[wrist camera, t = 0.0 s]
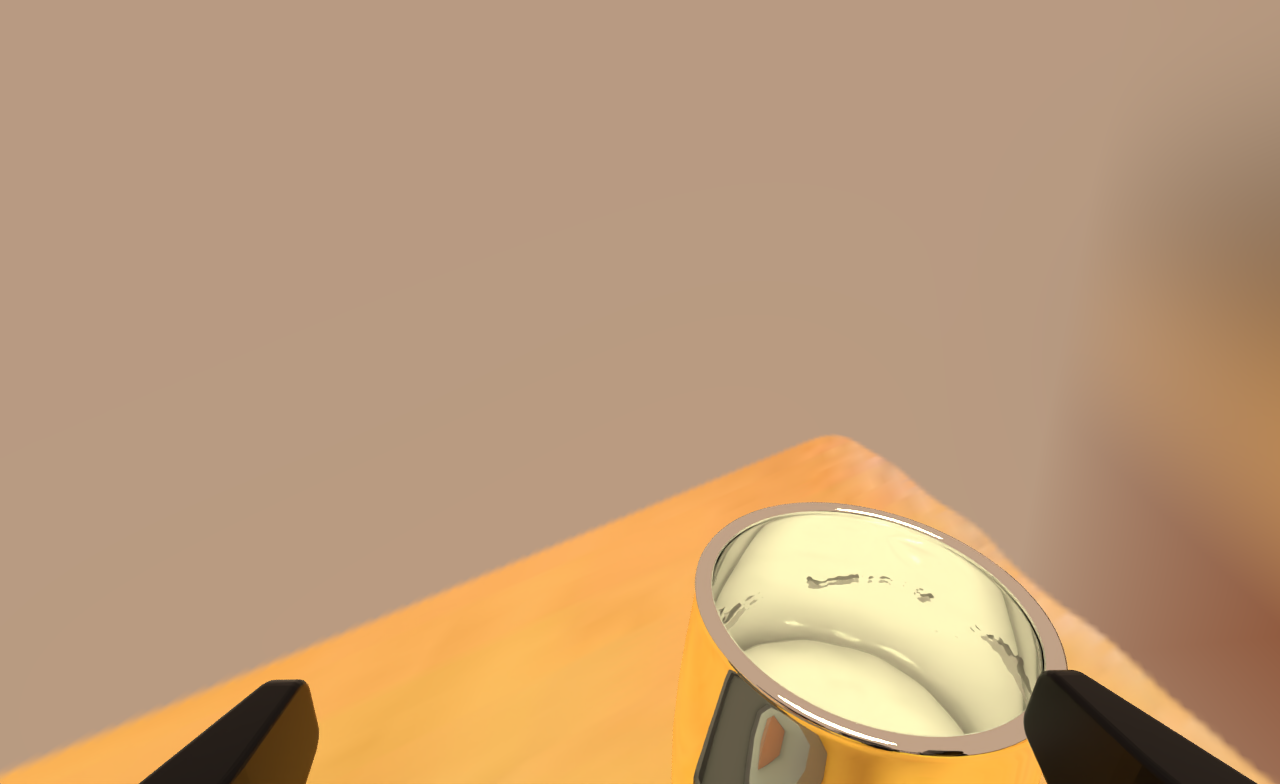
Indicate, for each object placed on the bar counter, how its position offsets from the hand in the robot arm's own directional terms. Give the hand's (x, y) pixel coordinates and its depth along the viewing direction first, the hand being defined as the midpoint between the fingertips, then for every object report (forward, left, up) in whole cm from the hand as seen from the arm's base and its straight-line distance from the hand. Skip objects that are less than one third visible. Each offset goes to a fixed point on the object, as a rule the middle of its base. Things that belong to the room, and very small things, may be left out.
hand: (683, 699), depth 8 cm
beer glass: (+4, -4, -17) cm, 18 cm away
